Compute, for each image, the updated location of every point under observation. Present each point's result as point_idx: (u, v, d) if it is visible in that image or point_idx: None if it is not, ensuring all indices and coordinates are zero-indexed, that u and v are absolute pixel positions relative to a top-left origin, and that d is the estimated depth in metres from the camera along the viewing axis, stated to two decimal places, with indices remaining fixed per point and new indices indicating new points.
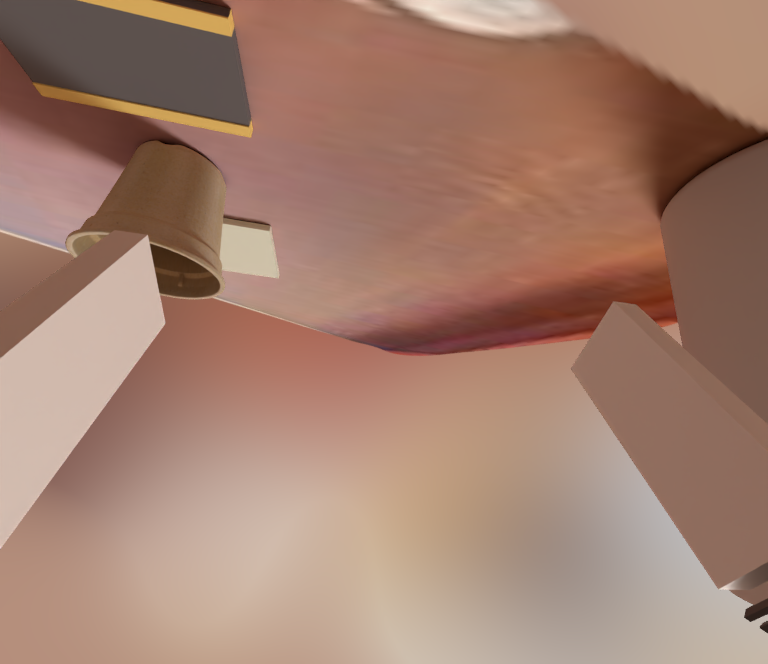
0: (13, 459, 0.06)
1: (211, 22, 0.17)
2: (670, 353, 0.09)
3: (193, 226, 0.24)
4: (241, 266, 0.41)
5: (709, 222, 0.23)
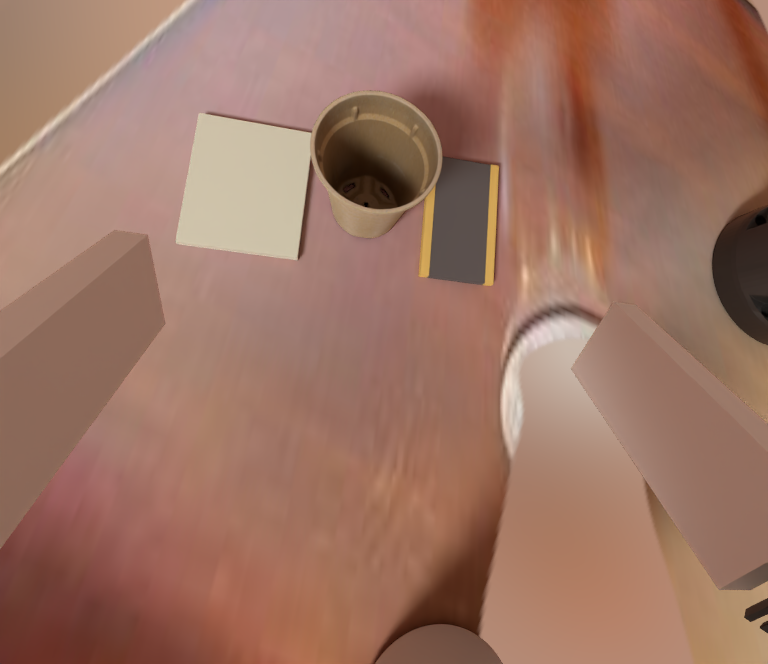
0: (13, 459, 0.06)
1: (490, 275, 0.35)
2: (670, 353, 0.09)
3: None
4: (204, 201, 0.32)
5: (459, 654, 0.27)
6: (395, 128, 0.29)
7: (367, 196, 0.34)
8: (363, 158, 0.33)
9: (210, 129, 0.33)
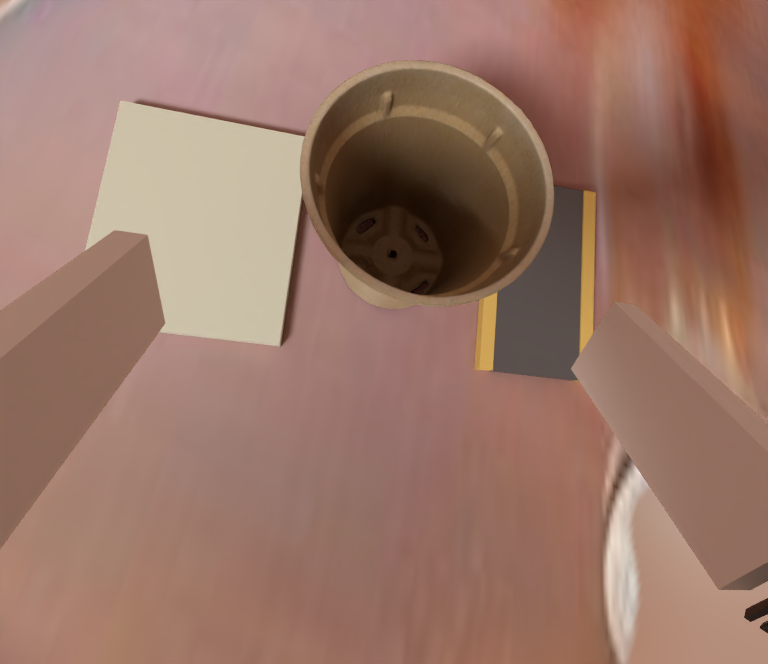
0: (13, 459, 0.06)
1: None
2: (670, 353, 0.09)
3: None
4: None
5: None
6: (456, 133, 0.16)
7: (395, 239, 0.22)
8: (391, 181, 0.20)
9: (139, 128, 0.20)
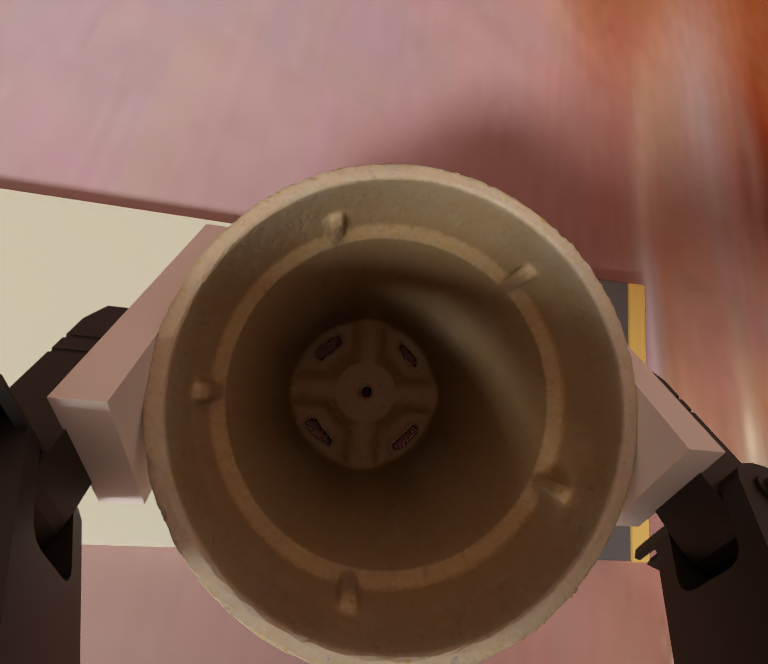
0: None
1: (642, 541, 0.16)
2: None
3: None
4: None
5: None
6: (457, 259, 0.10)
7: (370, 368, 0.15)
8: (360, 298, 0.13)
9: None
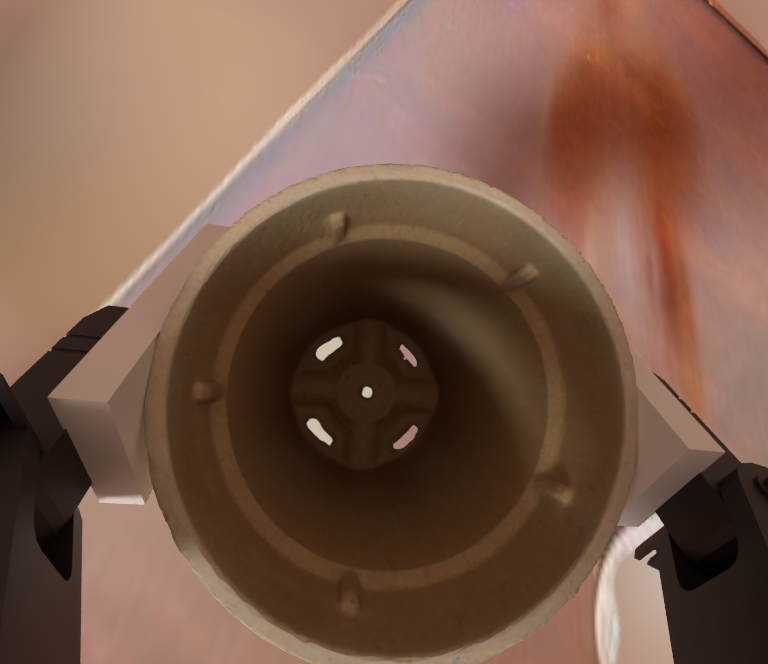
0: None
1: None
2: None
3: None
4: None
5: None
6: (458, 259, 0.10)
7: (370, 368, 0.15)
8: (361, 298, 0.13)
9: None
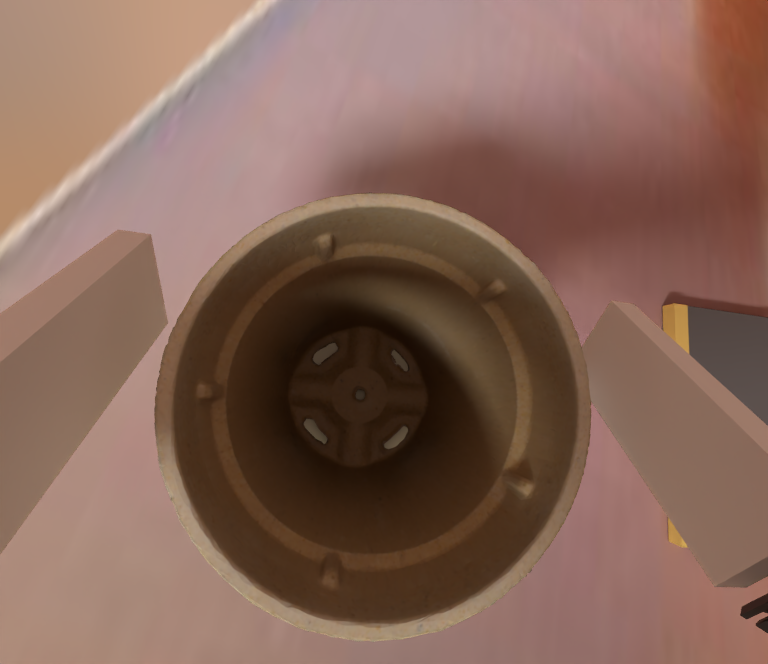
0: (19, 457, 0.06)
1: None
2: (667, 352, 0.09)
3: None
4: None
5: None
6: (437, 274, 0.11)
7: (364, 372, 0.16)
8: (354, 307, 0.14)
9: None
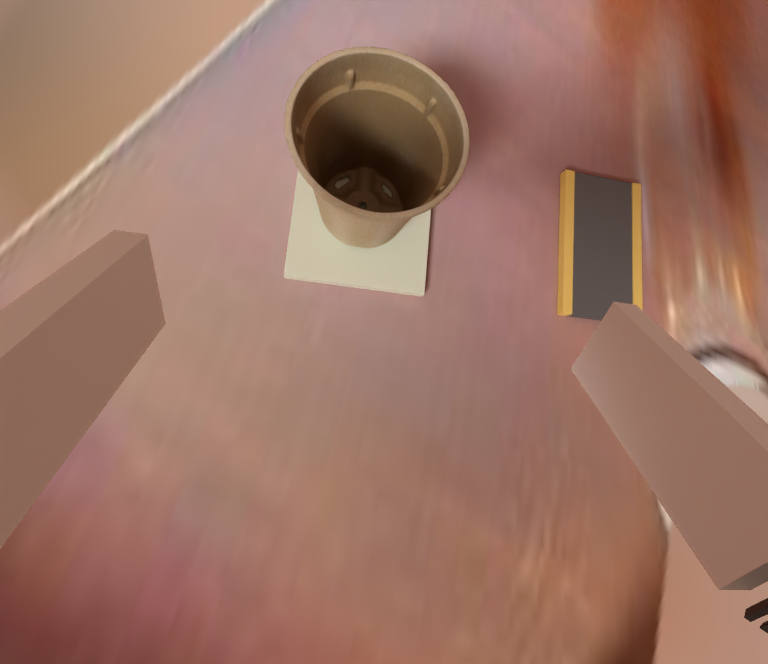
0: (14, 459, 0.06)
1: None
2: (670, 353, 0.09)
3: None
4: (315, 226, 0.26)
5: None
6: (405, 103, 0.22)
7: (365, 194, 0.27)
8: (360, 144, 0.25)
9: None
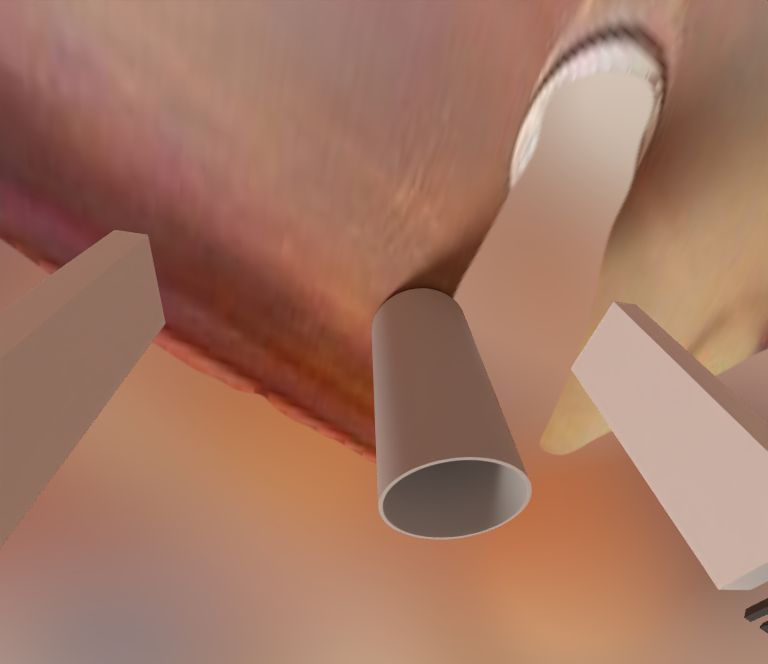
0: (13, 459, 0.06)
1: None
2: (670, 353, 0.09)
3: None
4: None
5: (436, 303, 0.44)
6: None
7: None
8: None
9: None
